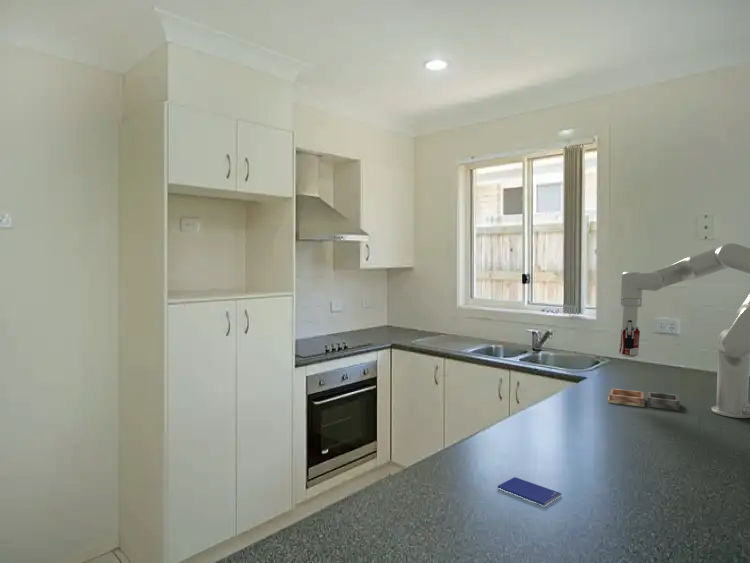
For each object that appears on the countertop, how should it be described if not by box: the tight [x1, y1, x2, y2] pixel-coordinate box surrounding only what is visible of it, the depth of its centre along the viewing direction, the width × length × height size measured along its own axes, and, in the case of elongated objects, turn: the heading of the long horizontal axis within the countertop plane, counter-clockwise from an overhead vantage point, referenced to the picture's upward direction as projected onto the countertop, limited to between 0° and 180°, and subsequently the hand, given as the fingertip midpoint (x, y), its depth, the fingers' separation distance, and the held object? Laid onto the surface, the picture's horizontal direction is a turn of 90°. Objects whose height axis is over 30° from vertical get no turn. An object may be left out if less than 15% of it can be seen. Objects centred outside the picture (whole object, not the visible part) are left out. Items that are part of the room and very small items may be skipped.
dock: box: [607, 388, 681, 411], centre depth 202 cm, size 25×13×4 cm, turn 62°
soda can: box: [618, 325, 641, 358], centre depth 204 cm, size 7×7×12 cm
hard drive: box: [497, 476, 562, 506], centre depth 122 cm, size 2×8×12 cm
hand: (629, 346), depth 204 cm, fingers closed on soda can, 6 cm apart
